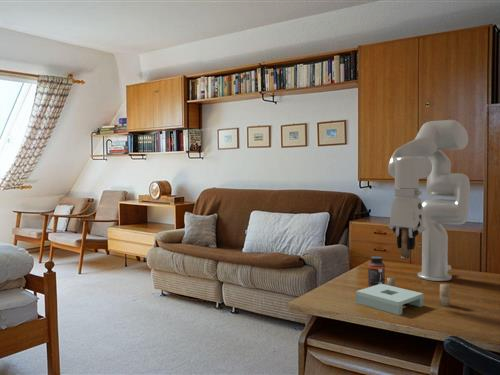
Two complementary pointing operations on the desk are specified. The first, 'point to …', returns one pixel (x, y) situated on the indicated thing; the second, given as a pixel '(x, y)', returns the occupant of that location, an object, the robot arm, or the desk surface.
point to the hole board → (388, 298)
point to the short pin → (391, 281)
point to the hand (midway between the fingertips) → (405, 248)
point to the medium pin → (444, 295)
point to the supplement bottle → (376, 271)
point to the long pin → (405, 243)
